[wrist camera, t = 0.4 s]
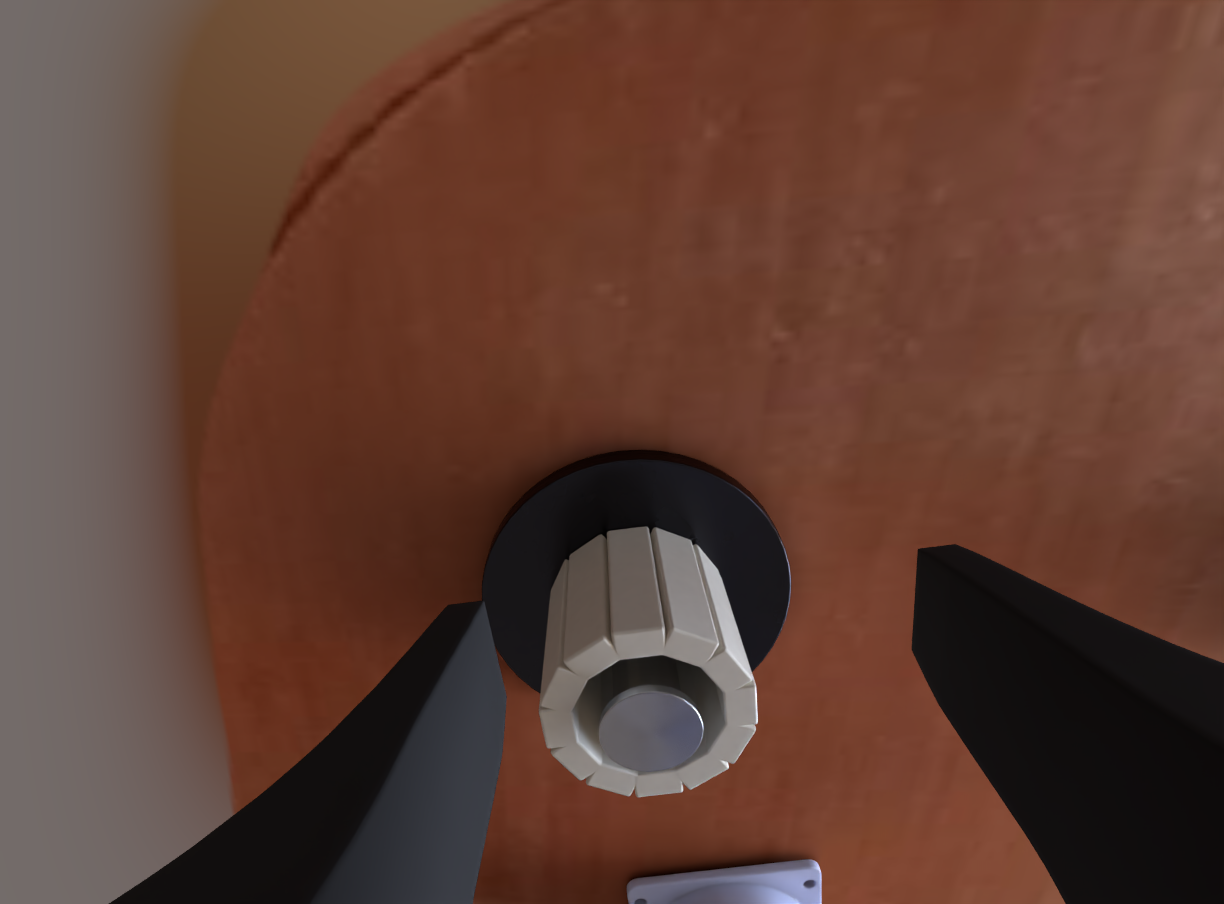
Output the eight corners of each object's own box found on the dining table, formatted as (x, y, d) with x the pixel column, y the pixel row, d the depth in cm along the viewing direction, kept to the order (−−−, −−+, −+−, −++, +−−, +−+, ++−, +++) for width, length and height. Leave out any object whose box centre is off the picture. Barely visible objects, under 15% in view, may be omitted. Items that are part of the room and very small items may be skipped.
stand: (788, 686, 24) (850, 849, 18) (514, 718, 24) (490, 889, 18) (781, 429, 20) (857, 533, 14) (455, 470, 20) (401, 589, 15)
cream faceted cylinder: (726, 659, 22) (761, 784, 18) (565, 678, 23) (559, 807, 18) (716, 516, 20) (753, 616, 16) (538, 538, 20) (523, 644, 16)
